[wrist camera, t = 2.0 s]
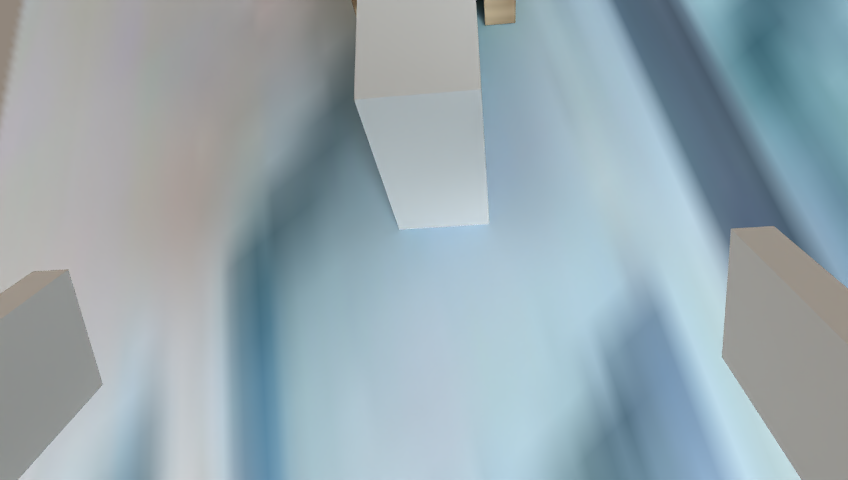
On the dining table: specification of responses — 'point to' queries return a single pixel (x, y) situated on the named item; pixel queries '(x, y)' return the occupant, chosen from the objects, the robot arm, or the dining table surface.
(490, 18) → the sleeve box
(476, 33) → the light grey rectangular block
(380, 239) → the dining table surface
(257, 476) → the dining table surface
